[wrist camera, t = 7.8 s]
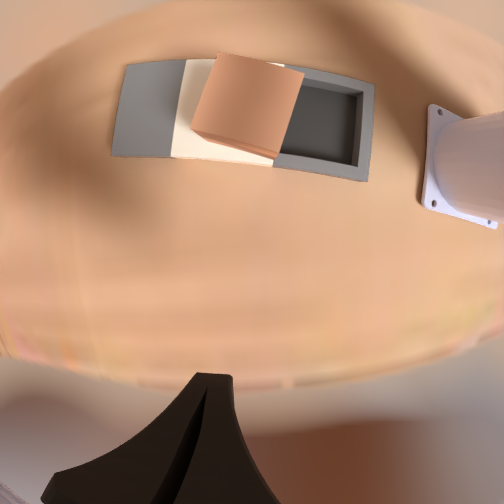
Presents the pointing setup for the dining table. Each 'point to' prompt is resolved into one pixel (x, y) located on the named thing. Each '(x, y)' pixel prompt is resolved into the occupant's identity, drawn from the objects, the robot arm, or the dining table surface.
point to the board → (195, 147)
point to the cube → (247, 104)
